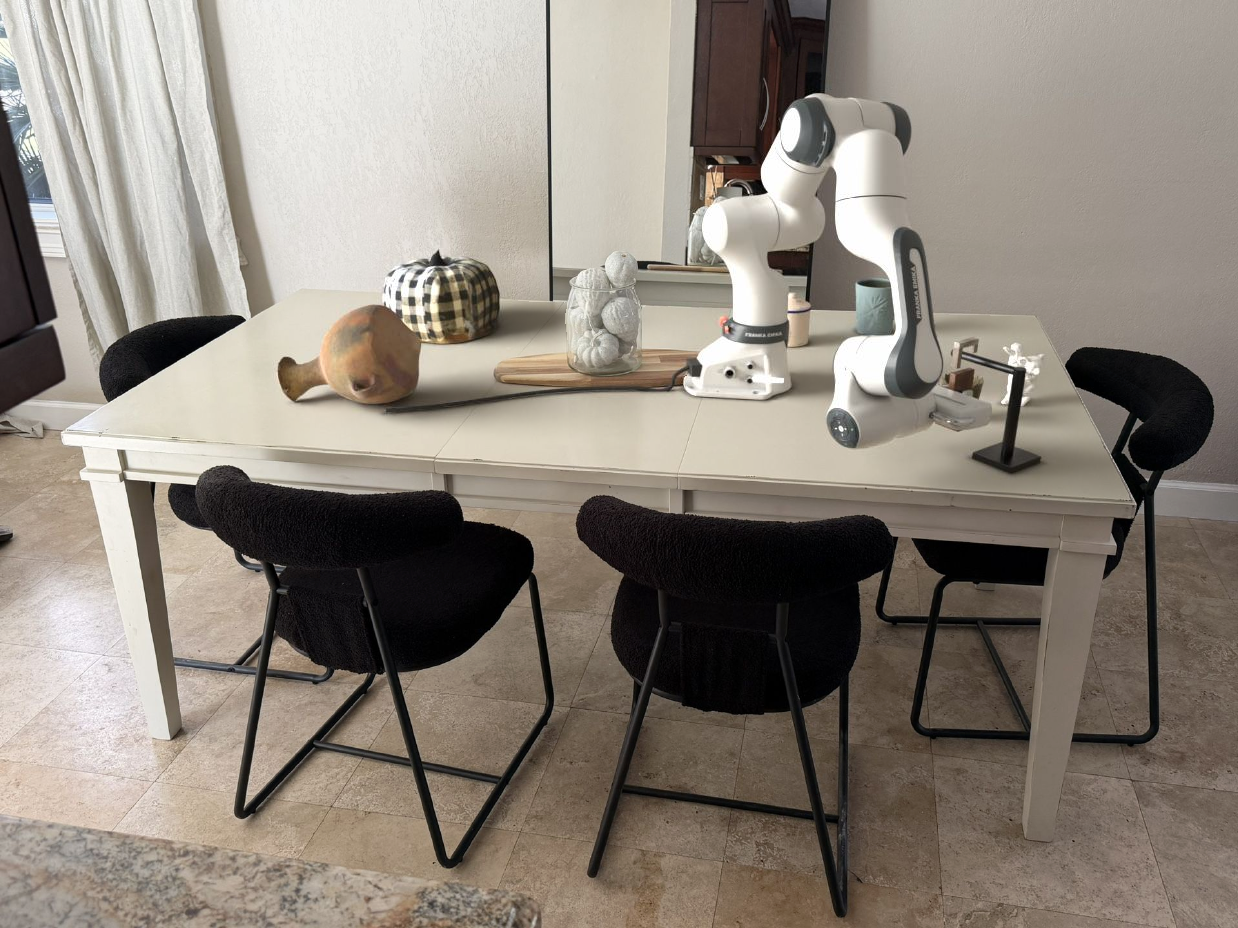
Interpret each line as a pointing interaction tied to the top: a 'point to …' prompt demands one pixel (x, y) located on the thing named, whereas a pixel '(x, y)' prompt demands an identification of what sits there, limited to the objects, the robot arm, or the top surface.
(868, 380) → the robot arm
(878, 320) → the teal embossed pot
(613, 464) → the top surface
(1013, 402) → the stand
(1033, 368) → the white figurine
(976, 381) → the cup
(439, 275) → the decorative pumpkin
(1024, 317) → the top surface
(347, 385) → the jug
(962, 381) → the hanger
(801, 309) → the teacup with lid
